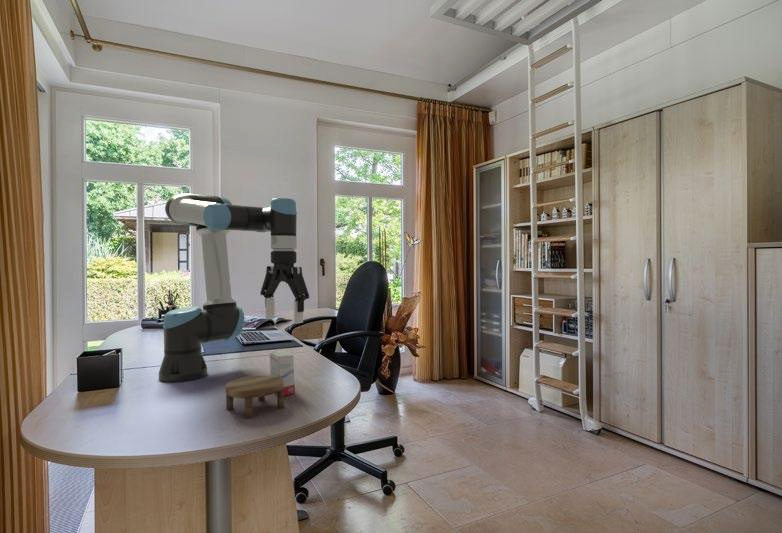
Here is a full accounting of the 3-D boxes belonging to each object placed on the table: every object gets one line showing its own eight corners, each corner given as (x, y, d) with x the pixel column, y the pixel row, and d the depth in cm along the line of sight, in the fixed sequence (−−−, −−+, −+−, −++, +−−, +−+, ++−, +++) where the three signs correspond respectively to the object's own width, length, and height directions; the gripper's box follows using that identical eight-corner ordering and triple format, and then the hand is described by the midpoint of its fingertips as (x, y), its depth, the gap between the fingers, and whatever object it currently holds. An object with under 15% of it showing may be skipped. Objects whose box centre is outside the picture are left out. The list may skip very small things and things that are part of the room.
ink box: (295, 394, 128) (295, 354, 128) (278, 397, 125) (278, 357, 125) (285, 386, 136) (285, 349, 135) (269, 389, 133) (269, 351, 133)
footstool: (215, 409, 116) (215, 384, 116) (264, 395, 127) (264, 372, 127) (244, 423, 106) (244, 395, 106) (295, 407, 117) (294, 382, 117)
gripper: (248, 250, 134) (249, 318, 134) (301, 250, 118) (301, 326, 119) (268, 250, 140) (269, 315, 140) (321, 250, 124) (321, 323, 125)
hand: (283, 320), depth 130 cm, fingers open, 13 cm apart
